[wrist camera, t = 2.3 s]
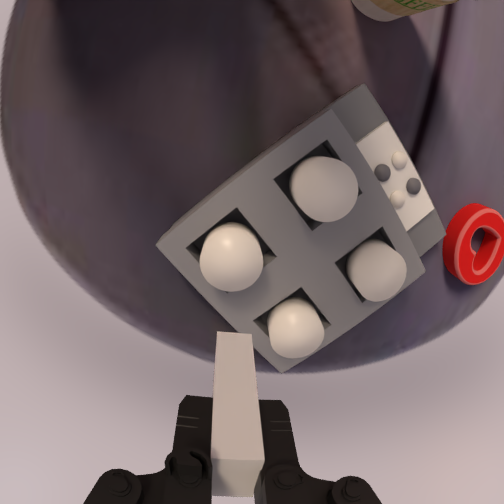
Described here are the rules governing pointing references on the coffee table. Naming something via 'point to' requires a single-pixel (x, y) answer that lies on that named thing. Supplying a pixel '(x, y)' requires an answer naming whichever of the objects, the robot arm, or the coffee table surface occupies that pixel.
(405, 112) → the coffee table surface
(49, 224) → the coffee table surface
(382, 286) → the outer button
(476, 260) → the decorative ornament
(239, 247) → the inner button
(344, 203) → the inner button
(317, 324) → the outer button
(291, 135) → the board
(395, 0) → the coffee cup
